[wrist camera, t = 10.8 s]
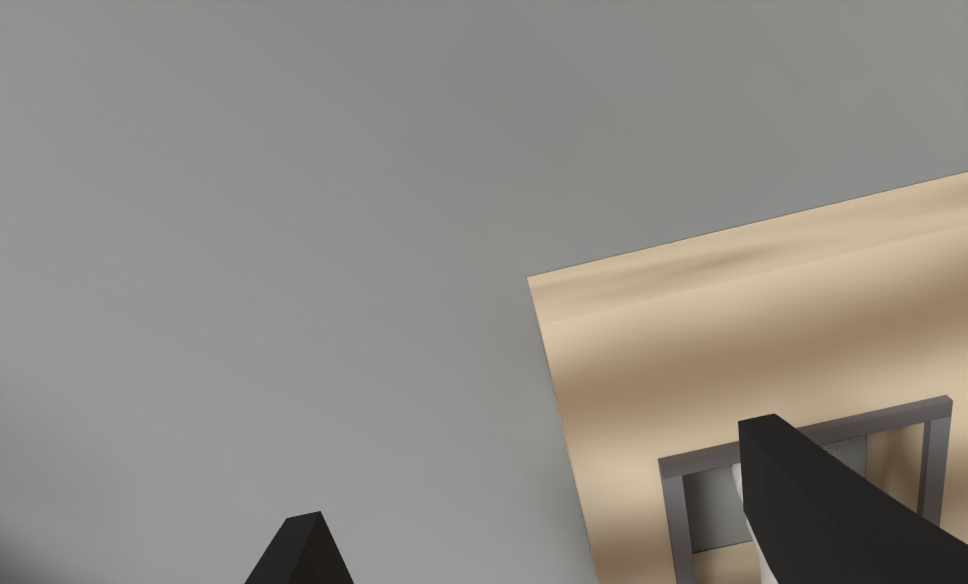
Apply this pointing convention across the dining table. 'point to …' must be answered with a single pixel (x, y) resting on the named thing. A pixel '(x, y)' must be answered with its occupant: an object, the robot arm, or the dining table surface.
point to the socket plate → (762, 366)
